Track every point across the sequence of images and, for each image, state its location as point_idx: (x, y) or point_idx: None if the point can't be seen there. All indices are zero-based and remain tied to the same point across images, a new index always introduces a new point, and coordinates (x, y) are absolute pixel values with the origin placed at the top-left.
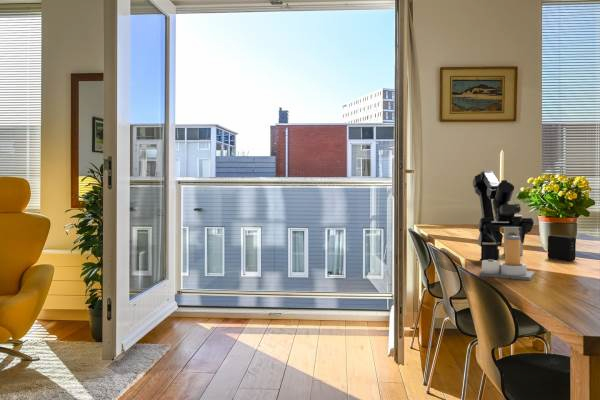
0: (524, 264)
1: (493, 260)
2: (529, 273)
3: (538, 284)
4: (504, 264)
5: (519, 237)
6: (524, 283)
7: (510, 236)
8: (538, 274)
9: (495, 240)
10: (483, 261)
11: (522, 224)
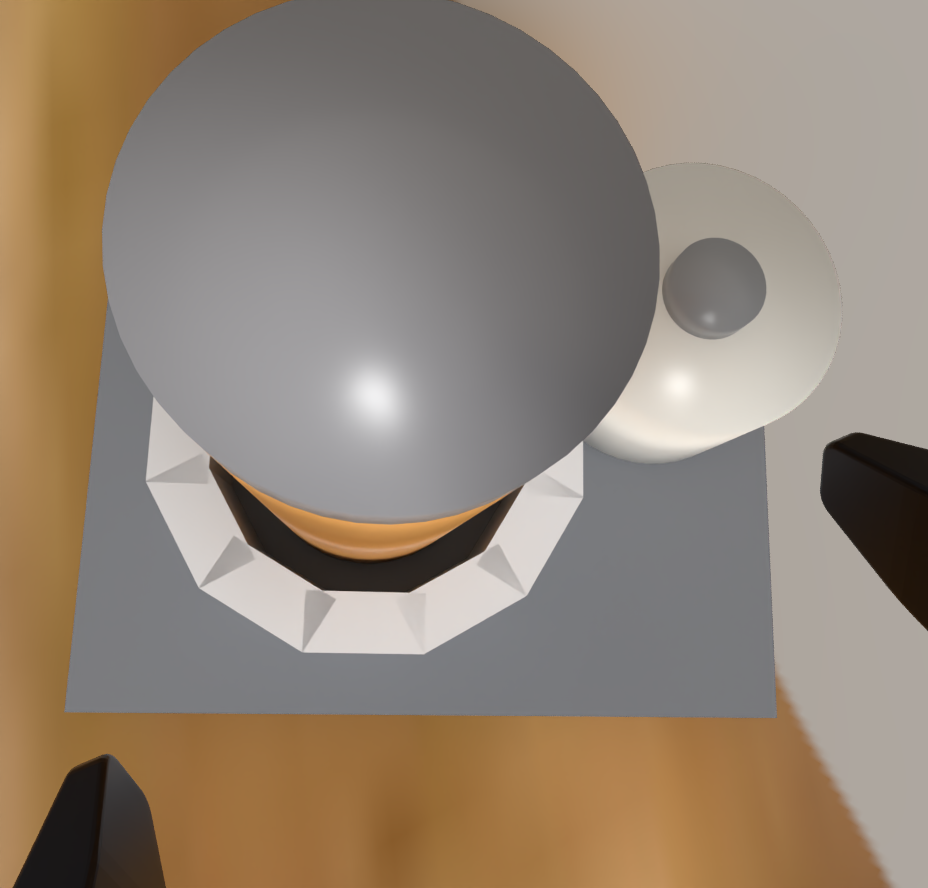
0: (183, 508)
1: (670, 277)
2: (136, 498)
3: (23, 7)
4: (510, 503)
5: (133, 151)
6: (185, 5)
7: (466, 193)
8: (22, 731)
9: (901, 459)
10: (801, 228)
11: None
